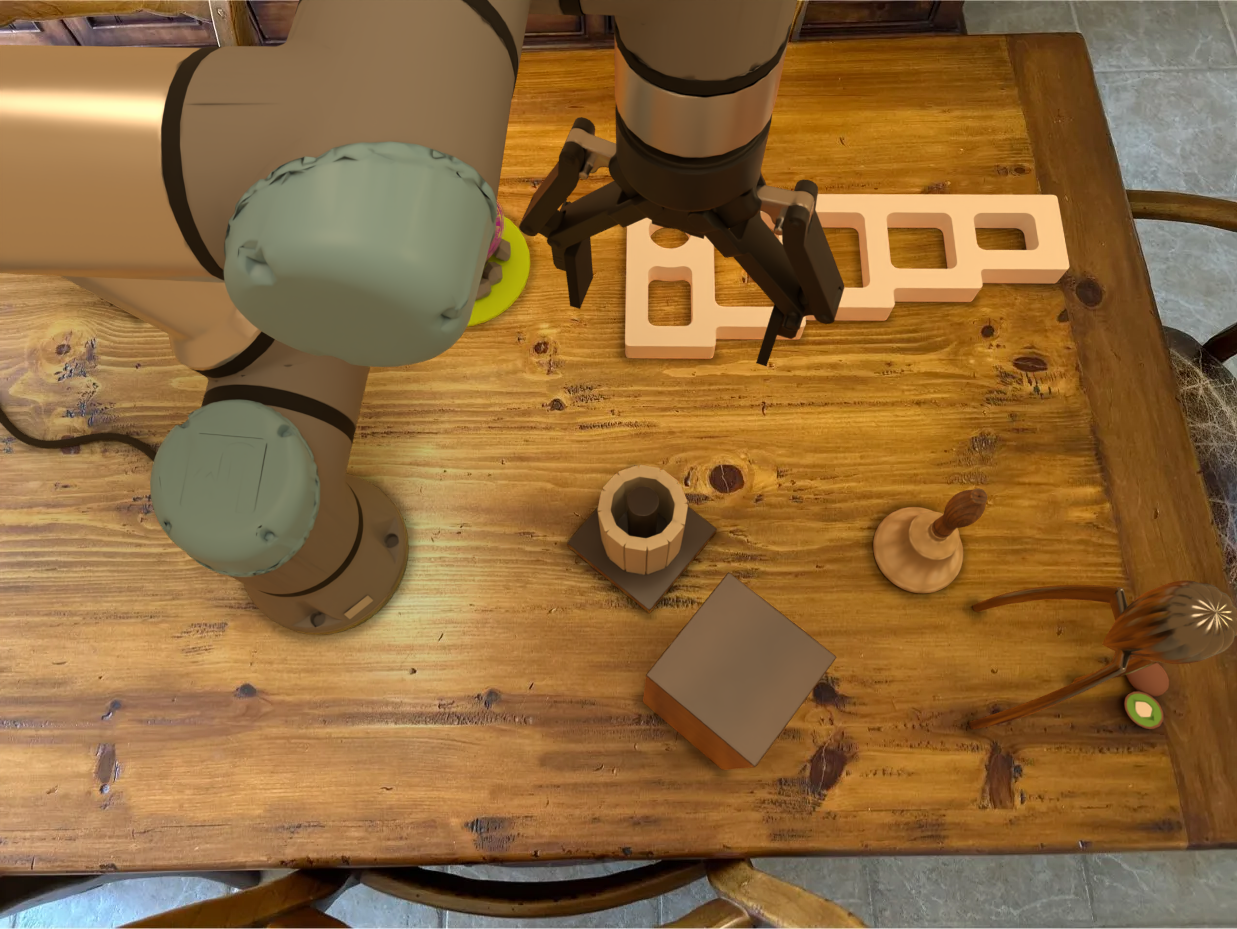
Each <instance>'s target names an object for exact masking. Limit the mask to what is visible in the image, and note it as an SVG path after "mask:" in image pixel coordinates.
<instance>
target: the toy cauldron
mask: <svg viewBox="0 0 1237 929" xmlns="http://www.w3.org/2000/svg"><path fill="white" fill-rule="evenodd" d="M504 213H505V212H504V209H503V206H502V204H501V203H500V201H499V198H497V215H498V216H497V218H496V230H495V237H494V239H493V241H492V243H491V245H490V248H489V250H488V254H487V258H486V262H485V265H484V269H483V273H482V277H481V281H480V284H479V288H478V292H477V296H476V299H475V303H474V307H473V310H472V314H471V318H470V320H469V323H468V325H467V327H466V328H469V327H473V326H478V325H480V324H485V323H487V322H489V321H490V320H493V319H495V318H496V317H498V316H500V315H501V314H502V313H504V312H505V311H507V310H508V309H509V308H510V307H511V306H512V305H513V304H514V303H515V302H516V301H517V300H518V299H519V297H520V296H521V294H522V292H523V291H524V290H525V288H526V284H527V282H528V278H529V276H530V270H531V263H532V262H531V254H530V248H529V246H528V244H527V241H526V238H525V237H524V235H523V232H522V231H521V230H520V229H519V227H518V226H516V225H515V223H514V222H513V221H512V220H511V219H509V218H508V217H506V215H505V214H504Z"/></svg>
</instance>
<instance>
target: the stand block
mask: <svg viewBox="0 0 1237 929" xmlns="http://www.w3.org/2000/svg"><path fill="white" fill-rule="evenodd" d="M836 660H837V656H836V655H835V654H834V653H833V652H831V651H830V650H829V649H828V648H827V647H825V646H824V645H823V644H821V643H820V642H819V641H817V639H815V638H814V637H812V636H811V635H810V634H808V633H807V632H806V631H805V630H803V629H802V628H801V627H800V626H799V625H797V624H796V623H795V622H794V621H792V620H791V619H790V618H789V617H787V616H786V615H784V614H783V613H782V612H780V611H779V610H778V609H777V608H776V607H774V605H772V604H770V603H769V602H768V601H766V599H765V598H763V597H762V596H760V594H758V593H757V592H755V591H754V590H753V589H751V588H750V587H749V586H748V585H746V584H745V583H744V582H742V580H740V579H739V578H737V576H735V575H734V574H733V573H731V572H729V571H727V573H726V574H725V575H724V577H723V578H722V579H721V580H720V582H719V583H718V584H717V585H716V586H715V587H714V589H713V590H712V592H711V593H709V596H708V597H707V598H706V599H705V600H704V601H703V603H702V604H701V605H700V606H699V608H698V609H697V610H696V611H695V613H694V614H693V615H692V617H691V618H690V619H689V620H688V621H687V623H686V624H685V625H684V626H683V627H682V629H681V630H680V632H679V633H678V634H676V636H675V637H674V639H673V640H672V641H671V642H670V644H669V645H668V646H667V648H666V649H665V650H664V651H663V653H662V654H661V655H660V656H659V658H658V659H657V660H656V661H655V662H654V663H653V665H652V666H651V667H650V669H649V670H648V671H647V672H646V674H645V679H644V680H645V681H644V689H643V697H642V698H643V700H642V703H643V704H644V705H645V706H646V707H648V708H649V709H650V710H651V711H653V712H654V713H655V714H656V715H657V716H658V717H660V719H661V720H663V721H664V722H665V723H667V724H668V725H669V726H670V727H671V728H673V729H674V730H675V731H676V732H677V733H678V734H680V735H681V737H683V738H684V739H685V740H687V741H688V742H689V743H690V744H691V745H692V746H693V747H694V748H696V749H697V750H698V751H700V752H701V753H702V754H703V755H704V756H705V757H706V758H708V759H709V760H710V761H711V762H712V763H714V764H715V765H716V766H717V767H718V768H719V769H720V770H722V771H725V770H726V771H727V770H738V769H749V768H756V767H758V765H759V763H760V762H761V761H762V759H763V758H764V757H765V755H766V754H767V752H769V750H770V749H771V747H772V745H773V744H774V743H775V742H776V740H777V739H778V738H779V736H781V734H782V733H783V731H784V730H785V728H786V727H787V725H788V724H789V723H790V722H791V720H792V719H793V718H794V716H795V715H796V713H797V712H798V711H799V709H800V708H801V707H802V705H804V703H805V701H806V700H807V698H808V697H809V696H810V695H811V693H812V692H813V690H814V689H815V688H816V686H817V685H818V684H819V682H820V681H821V679H822V678H823V677H824V675H825V674H826V673H827V672H828V670H829V669H830V667H831V666H832V665H833V663H834V662H835V661H836Z"/></svg>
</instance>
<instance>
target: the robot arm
mask: <svg viewBox="0 0 1237 929" xmlns="http://www.w3.org/2000/svg"><path fill="white" fill-rule="evenodd" d="M797 4H798V0H298V3H297V6H296V9H295V14H294V17H293V20H292V24H291V26H290V29H289V32H288V35H287V37H286V42H284V43H282V44H280V45H277V46H264V45H263V46H261V45H255V46H254V45H250V46H249V45H241V46H240V45H223V46H205V47H162V46H161V47H160V46H159V47H157V46H156V47H155V46H152V47H151V46H106V45H105V46H101V45H100V46H99V45H98V46H97V45H94V46H93V45H92V46H91V45H45V44H44V45H41V44H39V45H38V44H0V274H3V275H24V276H25V275H26V276H27V275H29V276H49V277H51V276H53V277H61V278H63V279H65V280H66V281H68V282H70V283H72V284H73V285H76V286H77V287H79V288H82V289H83V290H85V291H87V292H89V293H91V294H92V295H94V296H95V297H98V298H100V299H102V300H104V301H106V302H108V303H109V304H112V305H113V306H114V307H117V308H118V309H121V310H122V311H125V312H126V313H128V314H129V315H132V316H134V317H135V318H138V319H139V320H141V321H143V322H145V323H146V324H149V325H151V326H153V327H154V328H156V329H158V330H160V331H162V332H164V333H165V334H167V335H168V342H169V345H170V346H169V347H170V350H171V352H172V354H173V357H175V359H176V360H177V361H178V362H179V363H180V364H181V365H183V366H185V367H187V368H188V369H190V370H192V371H194V372H196V373H197V374H199V375H202V376H203V377H205V378H207V384H206V388H205V392H204V394H203V399H202V402H201V405H200V407H199V408H197V409H195V410H193V411H191V412H190V413H188V414H187V419H186V420H185V421H184V422H183V423H181V424H175V425H174V426H173V427H172V428H171V429H170V430H169V431H168V433H167V434H166V436H165V437H164V438H163V440H162V442H161V443H160V445H159V447H158V449H157V451H156V450H154V449H153V448H151V446H149V445H148V444H146V443H145V442H143V441H141V440H139V439H138V438H135V437H133V436H131V435H127V434H123V433H119V432H97V433H88V434H84V435H79V436H74V437H69V438H62V439H51V440H49V439H48V440H47V439H40V438H36V437H32V436H30V435H28V434H26V433H25V432H23V431H22V430H21V429H19V428H18V427H17V426H16V425H15V424H14V423H13V421H12V420H11V419H10V418H9V417H8V416H7V414H6V413H5V411H4V410H3V408H2V407H1V406H0V424H1V425H2V426H3V428H5V430H6V431H7V432H8V433H9V434H11V435H12V436H13V437H14V438H16V439H17V440H18V441H20V442H22V443H24V444H26V445H28V446H32V447H36V448H41V449H62V448H68V447H73V446H79V445H85V444H89V443H95V442H106V441H109V442H119V443H124V444H127V445H129V446H132V447H134V448H136V449H137V450H139V451H141V452H142V453H143V454H144V455H145V456H147V457H148V459H150V460H151V461H152V462H153V463H152V467H151V472H150V478H149V491H150V500H151V501H150V502H151V505H152V509H153V512H154V515H155V517H156V520H157V522H158V524H159V525H160V527H161V529H162V530H163V531H164V533H165V534H166V536H167V537H168V538H169V539H170V540H171V541H172V542H173V543H174V545H175V546H177V547H178V548H179V549H181V550H182V551H183V552H185V553H186V554H187V555H188V556H189V557H190V558H191V559H192V560H193V561H195V562H196V563H197V564H199V565H200V566H202V567H204V568H205V569H208V570H209V571H212V572H214V573H217V574H219V575H224V576H228V577H230V578H231V579H234V580H236V581H238V582H240V583H242V584H243V587H244V589H245V591H246V593H247V595H248V597H249V598H250V600H251V601H252V603H253V604H254V605H255V606H256V607H257V608H258V610H259V611H260V612H261V613H262V614H263V615H265V617H267V618H268V619H270V620H271V621H273V622H274V623H276V624H277V625H280V626H281V627H284V628H286V629H289V630H291V631H293V632H297V633H301V634H304V635H305V634H306V635H317V636H323V635H331V634H337V633H341V632H344V631H347V630H351V629H353V628H355V627H357V626H360V625H361V624H363V623H364V622H366V621H368V620H369V619H371V618H372V617H373V616H375V615H376V614H377V613H379V611H381V609H383V608H384V607H385V606H386V605H387V603H389V601H390V599H391V598H392V597H393V596H394V594H395V593H396V591H397V589H398V587H399V586H400V584H401V582H402V580H403V577H404V574H405V571H406V568H407V564H408V560H409V537H408V530H407V526H406V524H405V520H404V518H403V516H402V514H401V512H400V510H399V509H398V507H397V506H396V504H394V502H393V501H392V500H391V499H390V497H389V496H388V495H387V494H386V493H385V492H384V491H382V490H381V489H380V488H379V487H378V486H377V485H375V484H373V483H371V482H370V481H368V480H365V479H364V478H362V477H360V476H357V475H354V474H352V473H347V471H348V467H349V462H350V457H351V453H352V448H353V443H354V438H355V434H356V430H357V425H358V422H359V418H360V414H361V409H362V408H361V407H362V403H363V400H364V395H365V391H366V386H367V382H368V379H369V374H370V369H371V368H372V367H373V368H395V367H396V368H397V367H398V368H399V367H404V366H412V365H416V364H421V363H424V362H427V361H430V360H433V359H435V358H437V357H438V356H440V355H442V354H444V353H445V352H446V351H448V350H449V349H451V348H452V347H453V346H454V345H455V344H456V343H457V342H458V341H459V340H460V339H461V337H462V336H463V334H464V333H465V331H466V329H467V328H468V327H467V325H468V323H469V320H470V318H471V314H472V310H473V307H474V303H475V299H476V296H477V292H478V288H479V284H480V281H481V277H482V273H483V269H484V265H485V262H486V258H487V254H488V250H489V248H490V245H491V243H492V241H493V239H494V237H495V230H496V218H497V216H498V215H497V209H498V207H497V204H498V203H497V202H498V200H497V199H498V196H499V195H498V194H499V189H500V183H501V175H502V168H503V161H504V155H505V147H506V142H507V141H506V140H507V134H508V127H509V122H510V114H511V107H512V100H513V98H514V93H515V89H516V85H517V80H518V74H519V68H520V63H521V59H522V58H521V57H522V52H523V47H524V46H523V45H524V41H525V35H526V31H527V30H526V29H527V23H528V18H529V14H532V15H554V16H555V15H556V16H575V17H585V15H595V16H596V15H599V16H613V33H614V34H613V36H614V39H613V40H614V100H615V108H614V111H615V112H614V113H615V114H614V115H615V117H614V118H615V142H613V141H611V140H607V139H604V138H602V137H599V136H596V126H595V124H594V122H592V121H591V120H590V119H589V118H587V117H582V116H580V117H577V118H575V120H574V122H573V124H572V126H571V128H570V130H569V133H568V135H567V137H566V139H565V141H564V144H563V146H562V148H561V151H560V152H559V155H558V161H557V162H556V163H555V165H554V166H553V167H552V169H551V171H550V172H549V173H548V174H547V176H546V177H545V178H544V180H543V181H542V182H541V184H540V185H539V186H538V187H537V189H536V190H535V192H534V193H533V194H532V196H531V198H530V201H529V203H528V205H527V207H526V210H525V212H524V214H523V216H522V219H521V220H520V223H519V225H518V229H519V230H520V232H521V233H522V234H524V235H526V236H528V237H536V236H537V235H538V234H540V235H541V236H543V237H544V238H546V243H547V245H548V246H550V249H551V256H552V263H553V265H554V267H555V268H556V269H557V270H560V271H563V272H565V277H566V283H567V293H568V300H569V306H570V307H572V308H575V309H578V310H581V308H582V306H583V303H584V300H585V298H586V295H587V294H588V291H589V289H590V286H591V284H592V282H593V279H594V270H593V254H592V239H591V238H592V237H594V236H596V235H598V234H600V233H603V232H605V231H607V230H609V229H611V228H614V227H616V226H618V225H619V226H620V227H621V228H627V226H629V225H631V224H634V223H636V222H638V221H640V220H643V219H645V218H648V219H650V220H652V224H654V225H658V226H661V227H664V228H665V229H673V230H678V231H680V232H683V233H684V232H685V233H684V234H686V233H687V234H689V235H692V236H695V237H698V238H702V239H704V236H706V237H707V238H708V240H709V241H710V242H711V243H712V244H713V245H714V248H715V249H716V250H717V251H718V252H719V253H720V254H721V256H722V257H724V259H725V258H726V259H729V258H733V259H734V260H735V261H736V262H737V264H738V265H740V267H741V268H742V269H743V270H744V272H745V273H746V274H747V275H748V276H749V277H750V278H751V279H752V280H753V282H754V283H755V284H756V285H757V286H758V287H759V288H760V290H761V291H762V292H763V294H765V295H766V296H767V297H768V298H769V300H770V301H771V302H772V303H773V304H774V305H773V306H772V307H773V310H772V313H771V316H770V319H769V323H768V326H767V329H766V332H765V336H764V339H762V341H761V342H762V343H761V345H760V349H759V352H758V355H757V358H756V362H755V364H757V365H761V366H764V367H768V363H769V360H770V357H771V355H772V352H773V349H774V345H775V343H776V340H777V339H776V337H777V335H779V336H782V337H785V338H789V339H792V338H794V337H796V334H797V332H798V330H799V329H800V326H801V323H802V320H803V317H805V316H808V315H814V317H815V319H816V320H815V321H817V322H819V323H821V324H824V325H830V324H833V323H834V322H835V321H836V320H835V317H836V314H837V310H838V307H839V304H840V301H841V297H842V294H843V291H844V288H845V283H844V281H843V278H842V275H841V273H840V271H839V270H840V269H839V267H838V265H837V262H836V260H835V256H834V254H833V253H832V248H831V247H830V243H829V242H828V239H827V236H826V234H825V231H824V227H822V226H821V223H820V220H819V218H818V215H817V212H816V210H815V209H816V202H817V195H818V194H819V186H818V185H817V183H815V182H814V181H813V180H810V179H805V178H804V179H803V178H802V179H800V180H798V181H796V183H795V186H794V188H793V190H791V189H786V188H782V187H775V186H773V185H772V186H770V185H767V182H766V180H765V177H764V176H763V173H762V167H763V163H764V158H765V152H766V147H767V143H768V140H769V134H770V129H771V125H772V121H773V120H772V119H773V111H774V109H775V106H776V103H777V98H778V93H779V87H780V83H781V80H782V75H783V74H782V73H783V69H784V64H785V61H786V60H785V59H786V54H787V50H788V44H789V38H790V34H791V30H792V25H793V21H794V16H795V12H796V8H797ZM601 168H607V169H608V172H609V176H610V177H611V178H612V180H613V181H610V182H609V183H607V184H605V185H603V186H601V187H599V188H597V189H595V190H593V191H591V192H589V193H586V194H585V195H583V196H582V197H579V198H577V199H576V200H573V201H572V202H571V201H568V198H569V196H571V194H572V193H573V192H574V191H575V189H576V188H577V186H578V183H579V181H580V180H583V181H584V180H588V179H589V177H590V174H595V173H597V171H598V170H599V169H601ZM559 208H560V209H559ZM761 211H763V212H765V213H767V214H768V215H769V216H770V217H771V220H772V222H773V224H775V227H774V231H773V230H772V229H770V228H769V227H768V226H767V225H766V223H765V222H764V221H763V220H762V218H761ZM664 228H663V229H664ZM774 233H775V234H776V235H779V236H781V235H782V243H783V244H782V243H781V242H780V241H779V239H778V238H777V237H776V236H775V234H774Z"/></svg>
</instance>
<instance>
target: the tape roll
mask: <svg viewBox="0 0 1237 929" xmlns="http://www.w3.org/2000/svg"><path fill="white" fill-rule="evenodd" d="M639 486H647V487H650V488H652V489H653V490H654V491H655V492H656V493H657V495H658V498H659V506H658V513H659V514H660V515H661V516H663V517H664V518H665V519H666V522H667V524H668V526H667V527H666V528H665V529H664V531H663V532H662V533H660V534H657V535H654V536H651V537H649V538H640V537H634V536H629V535H628V534H627V533H625V532H624V531H623V530H622V529H620V528H619V527H618V526H617V525H616V522H617V521H618V520H619V519H620V518H621V516H622V515H623V514H624V513H625V512H627V498H628V495H629V493H630V492H631V491H632V490H633V489H634V488H636V487H639ZM597 507H598V517H599V525H600V532H601V539H602V542H603V545H604V548H605V550H606V553H607V556H608V557H609V559H610V560H611V561H613V562H614V563H615V564H616V565H618V566H619V567H620V568H621V569H622V570H625V569H626V572H632V573H637V574H643V575H644V574H645V572H646V573H647V574H650V573H653V572H656V571H658V570H661V569H664V568H665V566H666V567H667V566H668V565H669V564H670V563H671V561H672V560H673V559H674V558H675V557H676V555H677V554H678V553H679V550H680V547H681V542H682V537H683V532H684V527H685V521H686V515H687V508H688V507H689V503H688V498H687V497H686V494H685V491H684V490H683V487H682V485H681V483H679V480H678V479H676V478H675V477H673V476H672V475H671V473H669V472H667V471H666V470H665V469H663V468H661V467H657V466H651V465H645V464H639V465H637V464H636V465H635V466H634V465H633V466H630V467H627V468H625V469H622V470H619V471H617V473H614V474H613V476H612V477H611V478H610V479H609V480H608V481H607V482H606V483H605V484H604V486H603V487H602V489H601V490H600V495H599V500H598V505H597Z"/></svg>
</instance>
